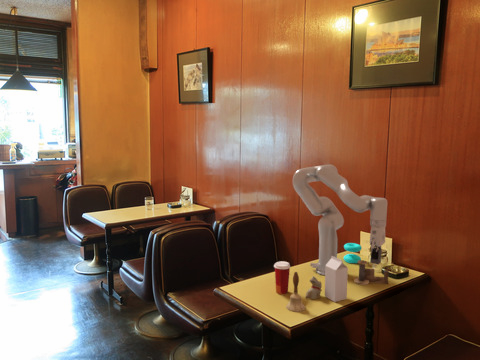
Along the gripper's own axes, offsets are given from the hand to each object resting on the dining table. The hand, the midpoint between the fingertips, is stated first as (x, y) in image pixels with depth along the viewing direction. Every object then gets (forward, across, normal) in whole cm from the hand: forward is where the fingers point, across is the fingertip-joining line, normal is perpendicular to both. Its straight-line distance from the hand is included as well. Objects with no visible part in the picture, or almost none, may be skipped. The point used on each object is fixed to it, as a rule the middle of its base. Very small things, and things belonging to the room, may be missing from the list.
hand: (375, 257), depth 194 cm
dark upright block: (+3, 0, 0) cm, 3 cm away
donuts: (+14, +24, +21) cm, 35 cm away
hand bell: (+14, -49, +18) cm, 54 cm away
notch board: (+13, +2, +1) cm, 13 cm away
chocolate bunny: (+14, -34, +17) cm, 40 cm away
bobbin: (+13, -4, +5) cm, 15 cm away
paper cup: (+14, -38, +31) cm, 51 cm away
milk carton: (+13, -29, +8) cm, 33 cm away
